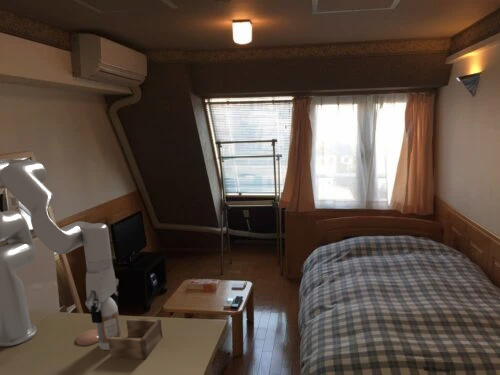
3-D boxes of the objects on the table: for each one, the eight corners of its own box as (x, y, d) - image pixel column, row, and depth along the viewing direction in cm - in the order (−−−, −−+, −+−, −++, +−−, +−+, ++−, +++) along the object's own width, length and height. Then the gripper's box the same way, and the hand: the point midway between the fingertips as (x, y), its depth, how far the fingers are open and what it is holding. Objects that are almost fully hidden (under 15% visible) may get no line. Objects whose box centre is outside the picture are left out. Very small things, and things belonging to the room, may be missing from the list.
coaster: (70, 344, 135) (70, 343, 135) (86, 330, 144) (86, 328, 143) (95, 346, 133) (95, 344, 133) (110, 331, 142) (109, 329, 142)
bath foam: (102, 353, 129) (94, 293, 125) (97, 343, 135) (88, 285, 131) (124, 345, 133) (117, 286, 129) (118, 336, 138) (111, 279, 135)
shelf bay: (110, 356, 127) (108, 338, 126) (130, 334, 139) (127, 318, 138) (145, 359, 124) (143, 340, 123) (162, 336, 136) (160, 319, 135)
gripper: (103, 253, 137) (109, 301, 141) (71, 274, 121) (79, 328, 124) (124, 254, 136) (129, 302, 139) (94, 275, 119) (101, 329, 123)
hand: (105, 314), depth 132 cm, fingers open, 9 cm apart
